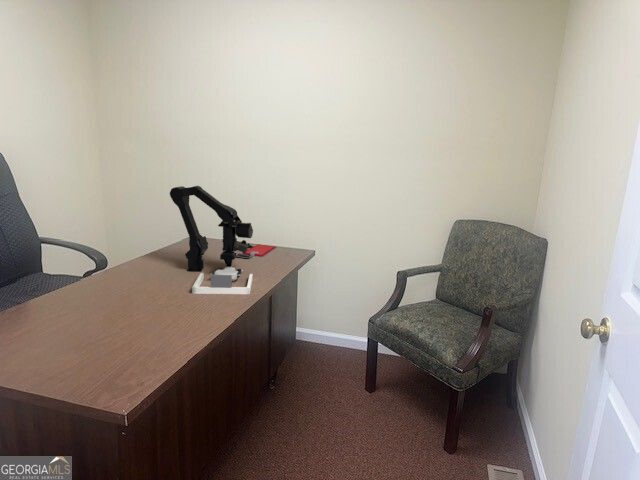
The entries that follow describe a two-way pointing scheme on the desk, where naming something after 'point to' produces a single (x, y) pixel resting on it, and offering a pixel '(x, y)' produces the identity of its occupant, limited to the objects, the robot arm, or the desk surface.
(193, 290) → the frame
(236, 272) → the robot toy
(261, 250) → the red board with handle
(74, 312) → the desk surface
